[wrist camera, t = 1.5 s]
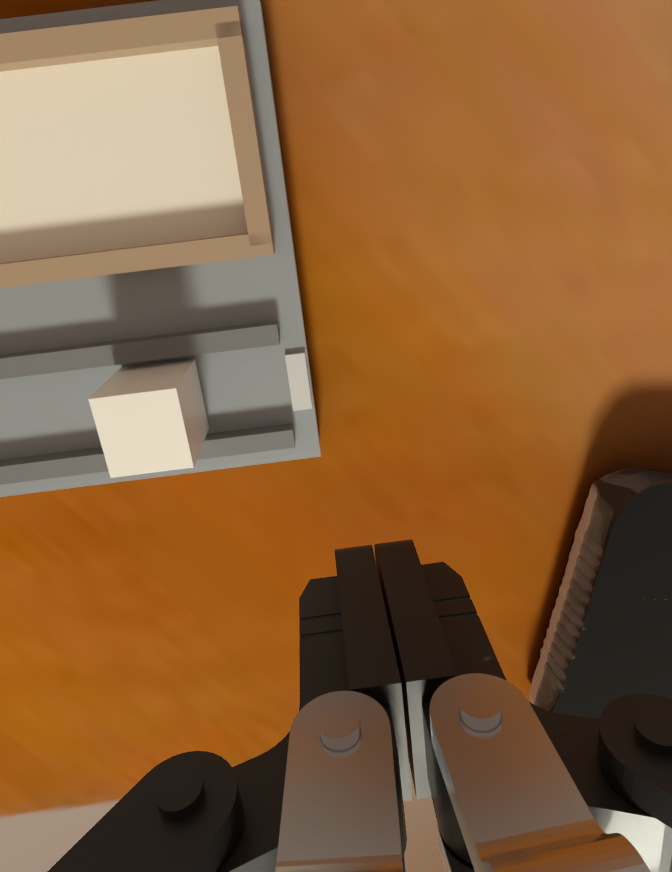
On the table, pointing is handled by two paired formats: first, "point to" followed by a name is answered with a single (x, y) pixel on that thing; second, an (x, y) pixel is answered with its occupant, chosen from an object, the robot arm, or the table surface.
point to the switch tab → (151, 418)
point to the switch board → (144, 235)
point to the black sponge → (613, 600)
